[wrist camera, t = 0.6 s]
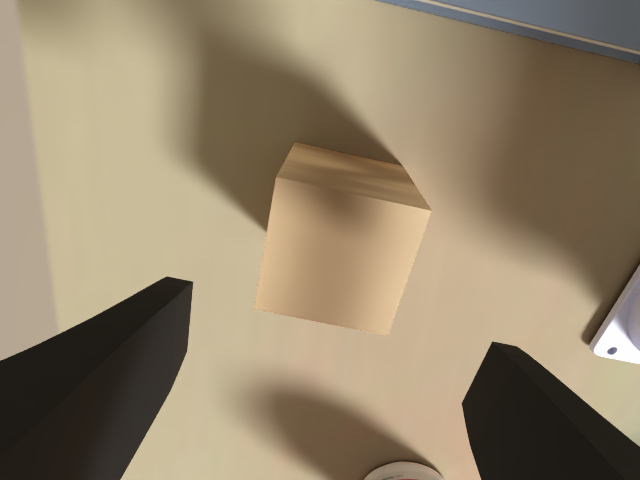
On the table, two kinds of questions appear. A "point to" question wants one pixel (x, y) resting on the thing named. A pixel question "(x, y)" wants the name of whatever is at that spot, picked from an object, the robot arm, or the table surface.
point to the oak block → (340, 239)
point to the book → (551, 21)
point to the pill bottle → (404, 472)
